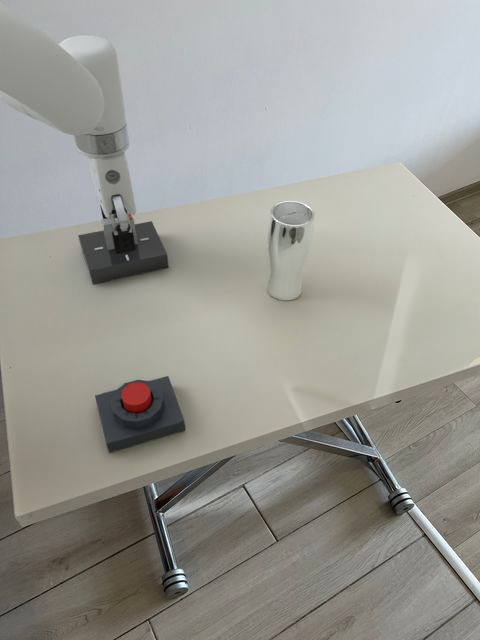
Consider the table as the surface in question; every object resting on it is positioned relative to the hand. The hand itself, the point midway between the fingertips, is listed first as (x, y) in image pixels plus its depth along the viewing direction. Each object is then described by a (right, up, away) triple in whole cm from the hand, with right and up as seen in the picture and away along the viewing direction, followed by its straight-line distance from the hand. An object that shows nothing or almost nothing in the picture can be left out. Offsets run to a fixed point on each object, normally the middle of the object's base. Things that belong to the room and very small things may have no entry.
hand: (118, 234), depth 89 cm
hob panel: (0, -3, +4) cm, 5 cm away
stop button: (+8, -26, -20) cm, 34 cm away
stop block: (+8, -28, -18) cm, 34 cm away
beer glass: (+28, -9, +1) cm, 29 cm away
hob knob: (0, -1, +2) cm, 2 cm away
